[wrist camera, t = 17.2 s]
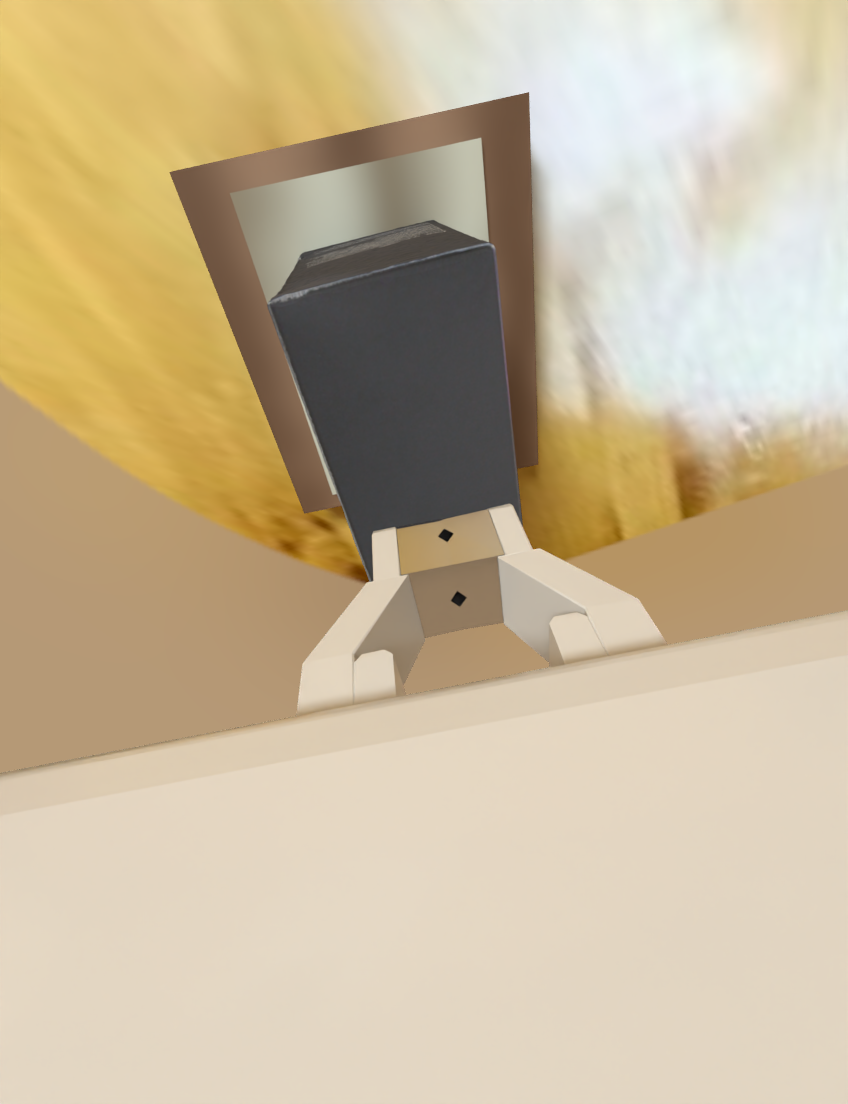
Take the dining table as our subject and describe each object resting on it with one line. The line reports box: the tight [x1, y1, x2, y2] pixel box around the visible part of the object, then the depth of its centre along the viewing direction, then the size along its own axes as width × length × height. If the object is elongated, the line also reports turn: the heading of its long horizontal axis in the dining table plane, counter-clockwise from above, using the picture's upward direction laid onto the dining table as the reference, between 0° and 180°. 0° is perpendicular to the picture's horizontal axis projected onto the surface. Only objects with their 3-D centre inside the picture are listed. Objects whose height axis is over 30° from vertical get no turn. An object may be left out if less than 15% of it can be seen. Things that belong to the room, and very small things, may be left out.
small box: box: [267, 220, 523, 582], centre depth 19 cm, size 11×6×10 cm, turn 12°
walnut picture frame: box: [170, 92, 538, 513], centre depth 24 cm, size 14×16×3 cm
